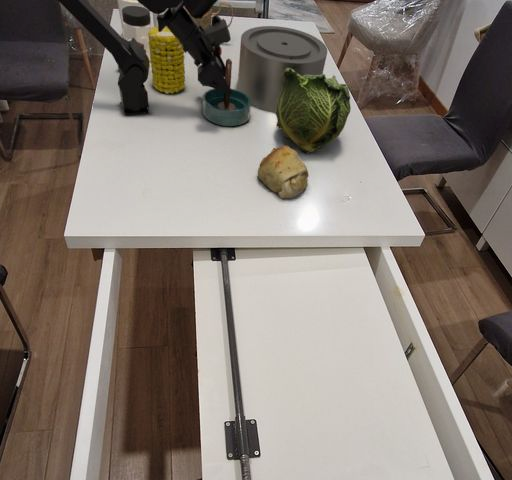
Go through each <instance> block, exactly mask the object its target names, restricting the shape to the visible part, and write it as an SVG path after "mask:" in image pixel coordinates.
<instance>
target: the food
mask: <svg viewBox="0 0 512 480" xmlns="http://www.w3.org/2000/svg"><path fill="white" fill-rule="evenodd" d="M148 35H149V46H150V47H149V49H150V59H151V61H149V63H150V66H151V71H150V73H151V76H152V85H153V88H155V89H156V90H157V91H159V92H160V93H164V94H166V95H169V94H174V93H175V92H176V93H179V91H181V90H183V89H185V86H186V83H185V82H186V77H185V75H186V73H185V72H186V71H185V55H184V54H185V52H184V51H183V49H182V48H183V46H182V45H181V43H180V42H179V41H178V40H177V39H176V37H175V36H174V35H173V34H172V33H171V31H170V30H169V29H168V28H167V27H166V28H164V29H163V30H162V31H161V32H159V31H158V27H156V28H154V26H151V29H149V32H148Z"/></svg>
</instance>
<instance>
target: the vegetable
mask: <svg viewBox="0 0 512 480" xmlns="http://www.w3.org/2000/svg"><path fill="white" fill-rule="evenodd" d="M283 76H285V77H286V82H285V83H284V84H283V85H284V87H283V89H282V92H281V94H280V96H279V100H278V103H277V105H276V108H277V110H276V113H275V115H276V121H277V122H276V127H277V128H278V129H281V131H282V132H283V135H284V136H285V137H286V138H290V139H291V140H292V141H293V142H294V144H295V145H297V146H298V148H299V149H300V151H301V152H302V153H303V154H305V155H306V154H309V153H311V152H314V151H316V150H318V149H321V148H323V147H325V146H327V145H328V144H330V143H331V142H333V141H334V140H335V139H337V138H338V137H339V136H340V135H341V133H342V131H343V130H344V128H345V126H346V123H347V121H348V117H349V115H350V113H351V109H352V107H351V101H350V100H351V94H350V89H349V86H348V84H347V83H339V81H338V80H337V78H336V75H332V77H328V78H327V76H326V74H324V73H323V74H321V75H307V74H305V75H303V76H301V75H299V74H297V72H295V71H294V70H293V69H291V68H287V69H285V71H284V74H283ZM306 77H307V78H306ZM312 77H314V78H312Z"/></svg>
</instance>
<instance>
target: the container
mask: <svg viewBox="0 0 512 480" xmlns="http://www.w3.org/2000/svg"><path fill="white" fill-rule="evenodd" d="M239 45H240V46H239V47H240V48H239V62H238V75H237V88H236V90H238V91H241V92H243V93H245V94H246V95H247V96H248V97H249V98H250V100H251V107H254V108H257V109H259V110H262V111H265V112H270V113H274V114H276V110H277V108H276V105H277V103H278V100H279V96H280V94H281V92H282V89H283V87H284V85H283V84H284V83H285V82H286V77H285V76H283V74H284V71H285V69H287V68H291V69H293V70H294V71H295V72H297V74H299V75H301V76H303V75H305V74H307V75H321V74H324V69H325V65H326V59H327V55H328V47H327V45H326V44H325V43H324V42H323V41H321V40H320V39H319V38H317V37H316V36H315V35H312V34H310V33H308V32H305V31H302V30H299V29H296V28H290V27H286V26H277V25H276V26H275V25H263V26H261V25H260V26H255V27H251V28H249V29H247V30H245V31H244V32H243V33H242V34H241V35H240V44H239ZM306 78H307V77H306ZM312 78H314V77H312Z"/></svg>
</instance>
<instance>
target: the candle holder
mask: <svg viewBox="0 0 512 480" xmlns="http://www.w3.org/2000/svg"><path fill="white" fill-rule="evenodd" d="M116 1H117V7H118V12H119V18H120V24H121V25H120V26H121V30H122V37H123V39H125V37H124V29H123V16H122V9H123V8H124V7H127V6H139V7H143V8H146V7H144V6H143V5H142V4H140V3H139V2H138V1H137V0H116ZM146 9H147V8H146Z"/></svg>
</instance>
